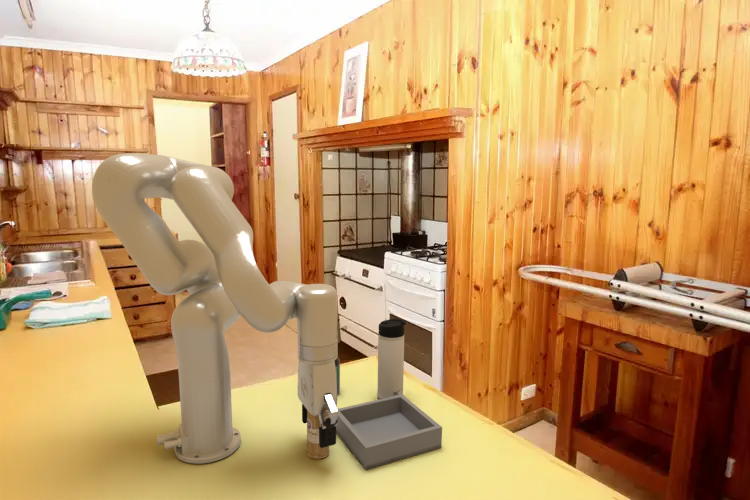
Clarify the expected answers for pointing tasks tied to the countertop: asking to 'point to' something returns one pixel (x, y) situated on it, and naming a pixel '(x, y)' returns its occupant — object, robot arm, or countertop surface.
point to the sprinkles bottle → (315, 437)
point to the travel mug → (390, 358)
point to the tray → (387, 431)
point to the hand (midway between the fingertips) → (318, 432)
